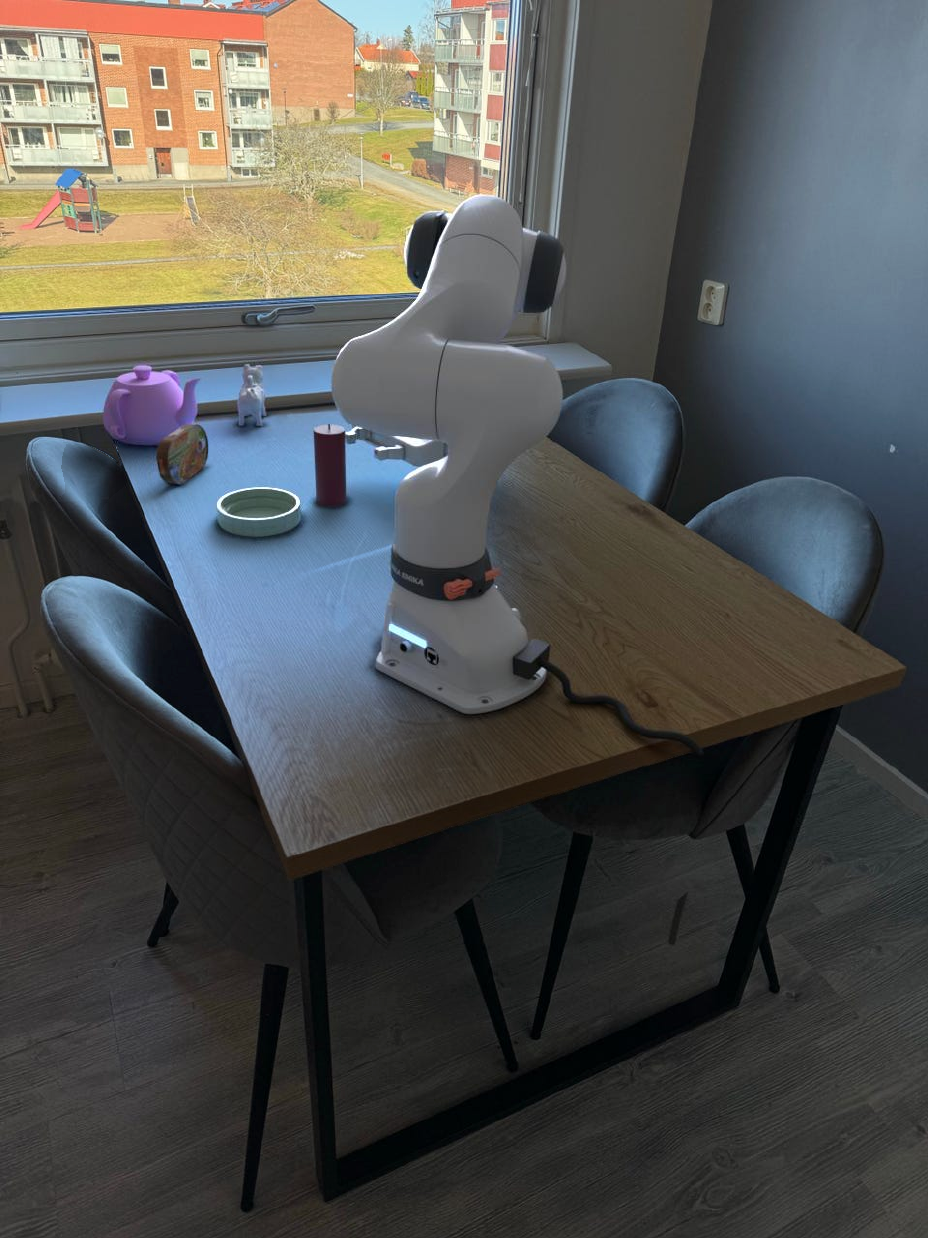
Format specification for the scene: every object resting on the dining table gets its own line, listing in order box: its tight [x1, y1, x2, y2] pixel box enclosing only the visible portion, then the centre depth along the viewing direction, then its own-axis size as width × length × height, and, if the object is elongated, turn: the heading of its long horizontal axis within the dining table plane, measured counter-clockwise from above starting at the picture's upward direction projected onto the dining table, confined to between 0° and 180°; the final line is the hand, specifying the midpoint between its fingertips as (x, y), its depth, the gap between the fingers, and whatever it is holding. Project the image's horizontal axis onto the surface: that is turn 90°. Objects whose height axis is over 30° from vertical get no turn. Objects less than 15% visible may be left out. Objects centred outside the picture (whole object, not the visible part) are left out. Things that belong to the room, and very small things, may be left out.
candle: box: [313, 423, 348, 507], centre depth 149 cm, size 5×5×14 cm
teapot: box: [102, 365, 202, 446], centre depth 172 cm, size 22×22×14 cm
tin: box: [155, 423, 209, 485], centre depth 158 cm, size 15×3×8 cm, turn 168°
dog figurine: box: [236, 363, 267, 427], centre depth 186 cm, size 5×13×11 cm, turn 6°
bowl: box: [216, 487, 302, 538], centre depth 144 cm, size 13×13×3 cm
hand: (360, 446), depth 152 cm, fingers open, 8 cm apart
